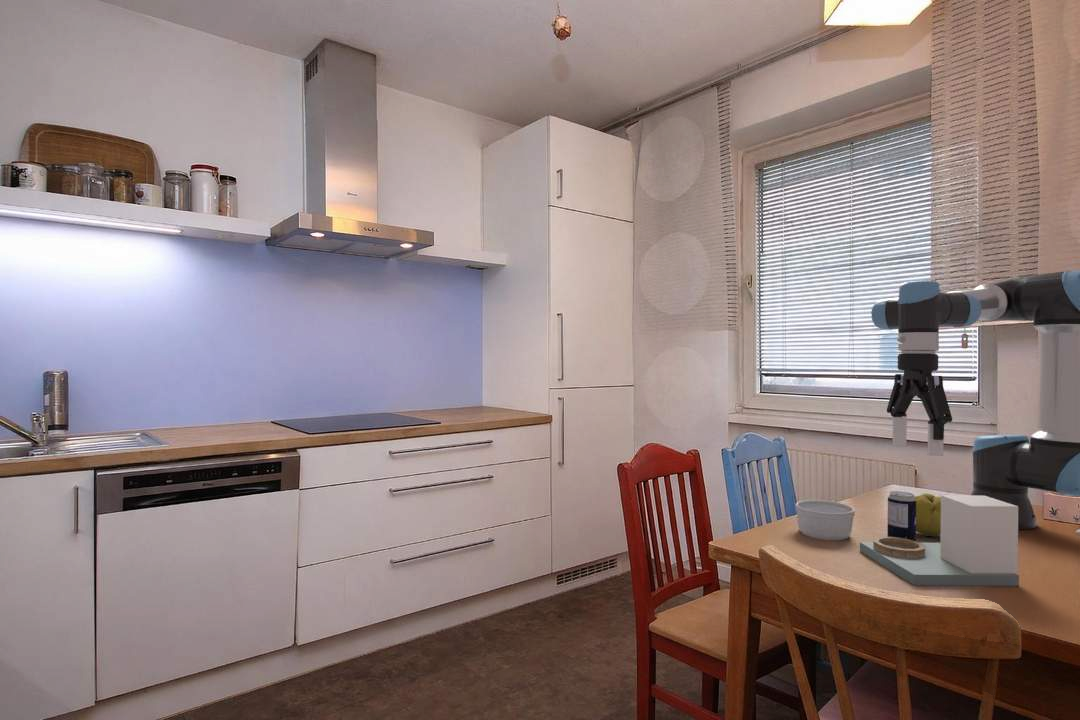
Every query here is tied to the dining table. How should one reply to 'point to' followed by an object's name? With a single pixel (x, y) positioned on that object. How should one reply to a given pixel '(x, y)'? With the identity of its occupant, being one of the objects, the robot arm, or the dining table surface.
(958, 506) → the block
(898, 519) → the beverage can
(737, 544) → the dining table surface
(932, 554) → the board
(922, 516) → the fruit
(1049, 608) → the dining table surface
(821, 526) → the ramekin
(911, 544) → the socket
